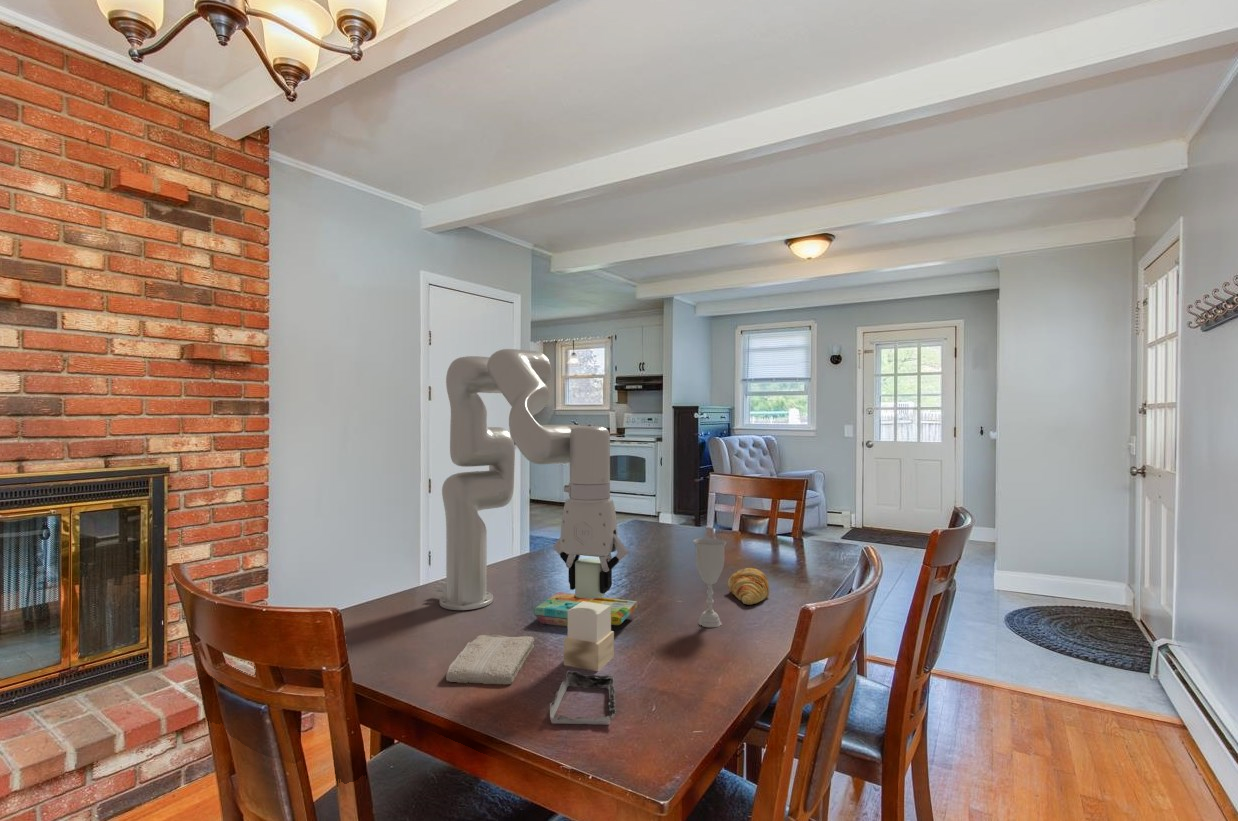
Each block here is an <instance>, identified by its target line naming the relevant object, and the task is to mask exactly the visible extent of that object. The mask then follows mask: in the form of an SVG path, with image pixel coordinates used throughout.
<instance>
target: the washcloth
mask: <svg viewBox="0 0 1238 821" xmlns="http://www.w3.org/2000/svg"><path fill="white" fill-rule="evenodd" d="M534 642H535V638H534V637H533V636H526V635H525V636H504V635H500V634H480V635H478V636H477V637H476V638H475V639H473V640H472V641H468V642H467V643H466V645H465V647H464V648H463V650H462V651H460V652H459V654H457V656H456V658H455V659H454V660H453V661H452V662H451V664H450V665H449V667H448V669H447V672H446V675H445V679H446V680H445V681H446V682H450V683H452V682H457V684H462V683H463V684H469V683H471V684H472V683H473V684H484V685H502V684H503V685H502V686H504V685H505V686H507V685H511V684H513V682H514V680H515V679H516V678H517V675H518V673H519V672H520V671H519V670H521V669H522V668H523V666H524V663H525V661H526V660H527V659H526V658H528V657H529V655H530V654H529V653H531V652H532V651H533V649H534V647H535V645H534ZM468 682H469V683H468Z"/></svg>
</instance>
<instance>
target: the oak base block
mask: <svg viewBox="0 0 1238 821" xmlns="http://www.w3.org/2000/svg"><path fill="white" fill-rule="evenodd" d="M614 646H615V631H613V630H611V632H610V633H609V634H608V635H606V636H605V637H604V638H602V639H601V640H600V641H599V642H597V643H594V642H588V641H583V640H577V639H572V638H568V635H567V636H565V637H564V638H563V666H566V667H567V666H568V667H573V668H577V669H582V670H587V671H593V672H600V671H601V670H602V669H603V668H604V667H605V666H606V665H607V664H608V663H609V662H610V661H611V660H612V659H613V658H614V657H615V650H614V649H615V647H614Z"/></svg>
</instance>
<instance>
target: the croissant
mask: <svg viewBox="0 0 1238 821" xmlns="http://www.w3.org/2000/svg"><path fill="white" fill-rule="evenodd" d="M727 585H728V587H727V588H728V589H729V590H730V592H731V593H732V595H734V596H735V597H736V598H737V600H739V601H741V602H742V603H743V605H748V606H751V605H754V604H758V603H760V602H762V601H764V600H765V599H767V598H769V596H770V584H769V582H768V578H767V576H766V575H765V574H764V572H763V571H761V570H760V569H757V568H756V567H744V568H742V569H738V571H735V572H733V574H732V575H731V576H730V577H729V578H728V581H727Z"/></svg>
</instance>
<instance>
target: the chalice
mask: <svg viewBox="0 0 1238 821" xmlns="http://www.w3.org/2000/svg"><path fill="white" fill-rule="evenodd" d="M693 543H694V545H695V565H696V568H697V571H698V573H699V575H700V578H701V579H702V581H703V582H704V583H705V584H707V585H706V586H707V590H706V594H707V595H706V596H707V599H706V600H705V602H706V604H707V609H706V610H704V611H703V612H701V615H700V617H699V620H698V622H697V623H698V625H699V626H701V625H702V627H704V628H705V627H706V628H718V627H721V626H722V622H721V619H720V617H719V614H718V613H717V612H716V611H714V609H713V604H714V602H715V600H714V599H713V594H714V591H713V585H714V584H716V583H717V582H718V580H719V578H720V576H721V574H722V571H723V569H724V565H725V546H726V544H727V543H728V541H726V540H724V539H722V538H721V539H720V538H714V537H702V538H701V537H698V538H696V539H693ZM720 625H721V626H720Z"/></svg>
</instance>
